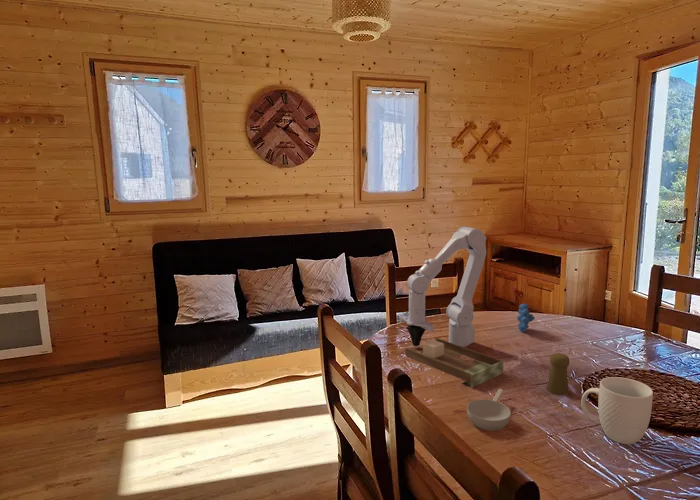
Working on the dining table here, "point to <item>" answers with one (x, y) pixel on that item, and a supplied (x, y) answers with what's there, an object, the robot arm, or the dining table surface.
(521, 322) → the grapes
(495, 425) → the saucepan
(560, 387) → the cork
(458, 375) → the olive long flat tray
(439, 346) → the cream block
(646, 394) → the mug
